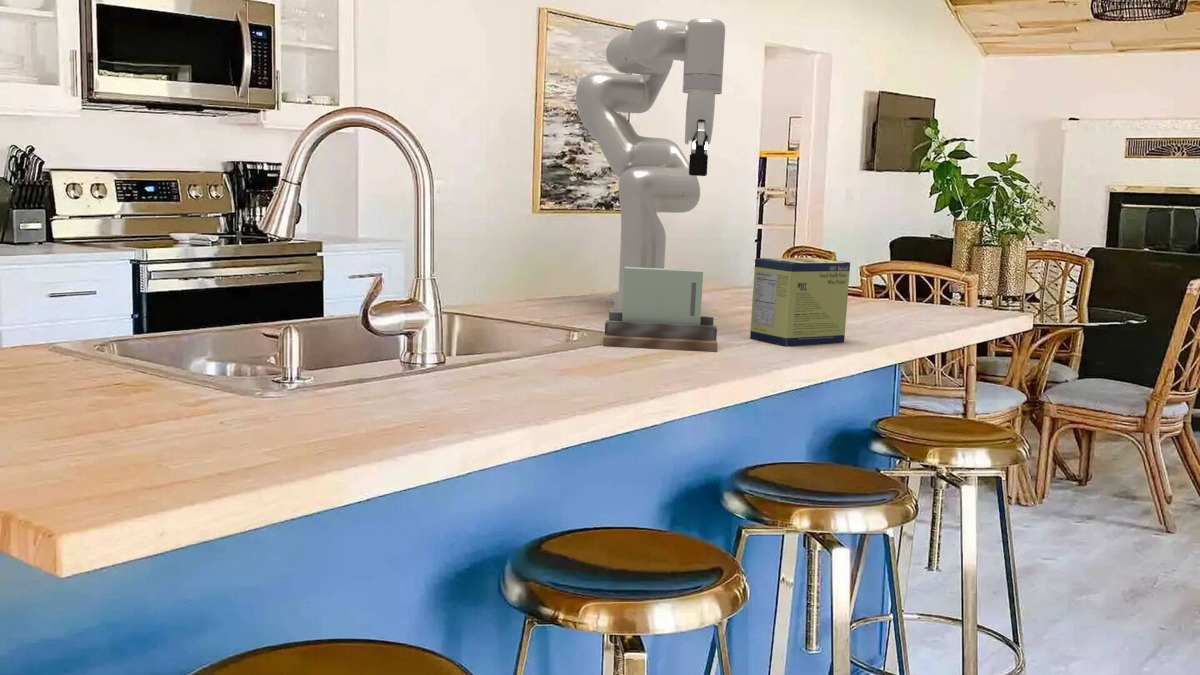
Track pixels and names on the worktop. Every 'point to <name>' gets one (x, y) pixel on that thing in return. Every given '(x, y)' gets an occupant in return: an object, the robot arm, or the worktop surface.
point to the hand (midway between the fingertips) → (697, 175)
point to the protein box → (799, 301)
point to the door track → (660, 334)
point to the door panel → (662, 295)
